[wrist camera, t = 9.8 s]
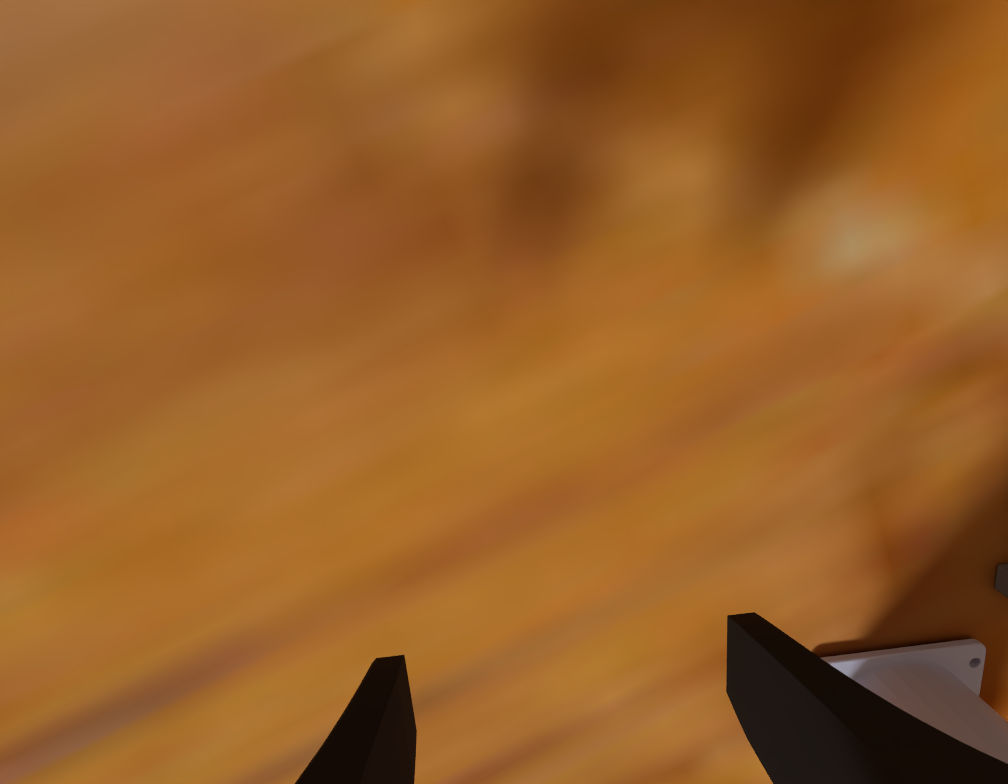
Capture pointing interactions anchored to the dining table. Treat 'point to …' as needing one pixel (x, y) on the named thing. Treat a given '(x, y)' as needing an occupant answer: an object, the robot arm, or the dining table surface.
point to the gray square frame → (1002, 579)
